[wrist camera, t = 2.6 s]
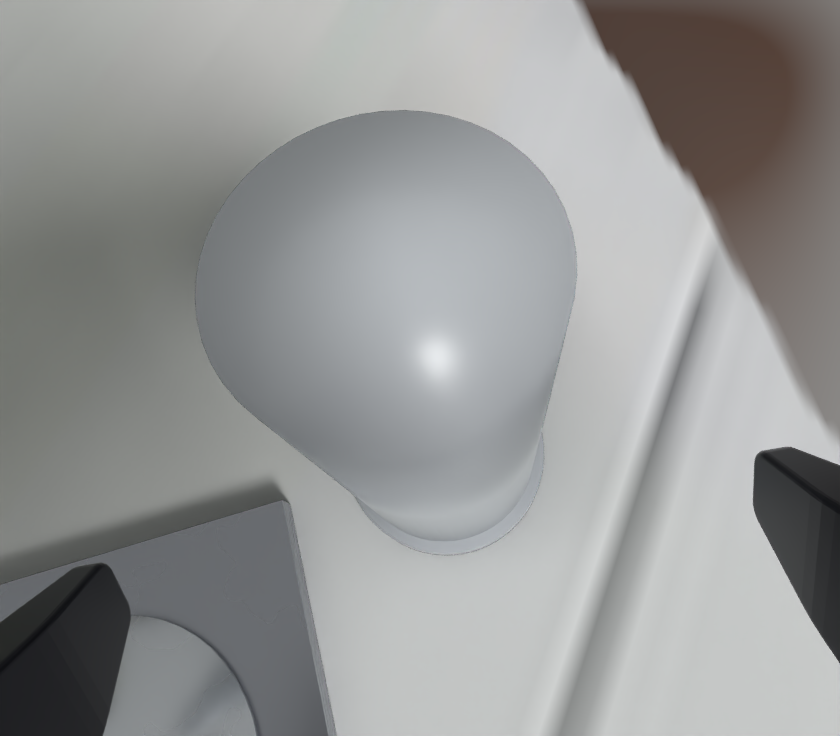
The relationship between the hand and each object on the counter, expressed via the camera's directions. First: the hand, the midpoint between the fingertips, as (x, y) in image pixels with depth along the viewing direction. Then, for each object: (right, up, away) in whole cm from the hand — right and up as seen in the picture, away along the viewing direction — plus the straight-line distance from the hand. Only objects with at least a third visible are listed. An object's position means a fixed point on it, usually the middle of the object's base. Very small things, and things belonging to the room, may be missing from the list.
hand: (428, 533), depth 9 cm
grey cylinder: (+1, 0, +11) cm, 11 cm away
